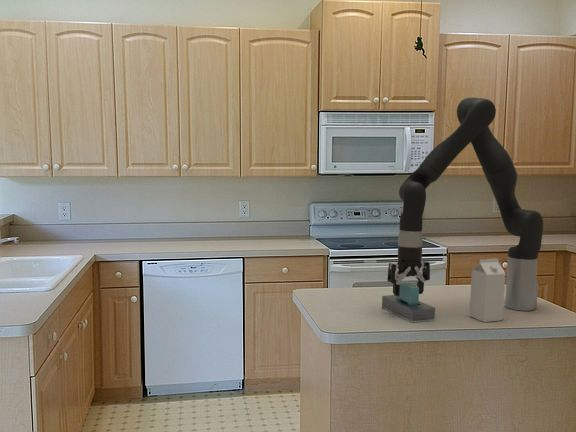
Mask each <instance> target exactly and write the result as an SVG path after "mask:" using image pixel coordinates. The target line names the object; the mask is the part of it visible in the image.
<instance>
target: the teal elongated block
mask: <svg viewBox="0 0 576 432" xmlns="http://www.w3.org/2000/svg"><path fill="white" fill-rule="evenodd" d="M399 285H400V295H399V296H397V300H398V301H405V302H407V305H409V306H413V305H418V303H419V301H420V300H419V299H420V298H419V297H420V294H419V287H417V285H414V284H412V283H409V282H407V281H401V282H400V283H399Z"/></svg>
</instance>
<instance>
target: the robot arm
mask: <svg viewBox="0 0 576 432" xmlns="http://www.w3.org/2000/svg"><path fill="white" fill-rule="evenodd" d="M496 114H497V109H496V106H495V104H494V102H493V101H491V100H490V99H488V98H484V97H483V98H482V97H467V98H464V99H462V100H461V101H460V102H459V103H458V105H457V109H456V117H457V121H458V123H459V126H458V127H456V128H457V129H455V130H454V132H452V133H451V134H450V135H449V136H448V137H446V138H445V139H444V140H443V141H441V142H440V143H439V144H438V145H436V146H435V147H434V148H433V149H432V150H431V151H430V152H429V153H428V154H427V156H426V157H425V159H424V160H423V161H422V162H421V163H420V164H419V166H418V167H417V168H416V169H415V170H414V171H413V172H412V173H411V174H409V176H408V177H407V178H406V179H405V180H404V181H403V182H402V184H401V185H400V187H399V189H398V190H399V191H398V194H399V198H400V200H401V201H403V204H402V212H401V214H400V216H399V232H398V237H397V241H398V242H397V263H392V262H390V263H388V267H387V268H388V269H387V278H386V279H387V280H386V281H387V282H389V283H391V284H392V293H393V294H392V295H395V296H399V295H400V285H399V283H400V282H402V281H403V280H404V279H405V277H406V278H409V277H415V278H416V280H417V281H416V286H417V287H419V295H422V294H423V292H424V291H425V282H427V281H430V279H431V264H430V262H429V261H426V260H423V261H421V260H422V258H423V215H424V211H425V206H426V201H427V190H426V189H427V188H428V187H429V186H430V185H431V184H433V183H434V182H436V181H437V180H438V179H439V178H440V177H441V175H443V173H444V172H445V171H446V169H447V168H448V167H449V166H450V164H452V162H453V161H454V160H455V159H456V158H457V157H458V156H459V154H460V153H462V152H463V150H464V149H466V148H467V146H468V145H470V144H471V145H472V147H473V150H474V153H475V155H476V158H477V160H478V161H479V164H480V166H481V169H482V171H483V174H484V176H485V178H486V181H487V183H488V184H489V187H490V189H491V191H492V194H493V196H494V198H495V201H496V203H497V207H498V210H499V213H500V216H501V220H502V222H503V226H504V227H505V229H506V231H507V233H509V234H510V235H512V236H514V237H519V241H518V244H517V245H515V246H511V247H509V248H508V252H507V266H506V267H507V269H506V270H507V271H506V280H505V297H504V306H505V307H506V308H508V309H509V310H515V311H521V312H522V311H523V312H524V311H525V312H530V311H534V310H536V309H537V308H538V306H537V305H538V294H539V293H538V292H539V280H537V273H538V272H537V271H538V260H539V259H538V257H539V253H540V251H541V248H542V242H543V241H542V240H543V232H544V219H543V216H542V214H541V213H540V212H539V211H536V210H532V209H531V210H529V209H523V208H522V207H521V206H520V205H519V202H518V200H517V197H516V192H515V191H516V186H517V180H518V173H517V169H516V167H515V164H514V161H513V160H512V158H511V156H510V154H509V153H508V151H507V150H506V149H505V148H504V146H503V145H502V144H501V143H500V141H498V139H497V138H496V137H495V136H494V134H493V133H492V131H491V128H490V125H491V124H492V123H493V121H494V119H495V118H496ZM421 269H422V271H420V270H421ZM396 271H397V272H396Z"/></svg>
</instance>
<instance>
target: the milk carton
mask: <svg viewBox="0 0 576 432" xmlns="http://www.w3.org/2000/svg"><path fill="white" fill-rule="evenodd" d="M470 278H471V279H470V297H469V298H470V299H469V317H471V318H473V319H476V320H477V321H478V320H479V321H481V322H483V323H488V322H489V323H490V322H498V321H503V317H504V305H505V289H506V272H505V270H504V269H503V267H502V265H501V263H500V262H499V258H484V259H483V258H482V259H481V258H480V259H479V263H478V264H476V266H474V267H473V268H472V269H471V277H470Z"/></svg>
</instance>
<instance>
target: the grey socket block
mask: <svg viewBox="0 0 576 432" xmlns="http://www.w3.org/2000/svg"><path fill="white" fill-rule="evenodd" d="M381 298H382V299H381V308H382V309H384V310H386V311H388V312H390V313H392V314H394V315H396V316H397V317H400V318H402V319H403V320H405V321H408V322H409V323H412V324H415V323H425V322H426V323H427V322H432V321H433V322H435V320H436V317H435V316H436V307H434V306H432V305H429V304H427V303H425V302H423V301H420V300H419V303H418V305H413V306H409V305H407V302H405V301H398V300H397V296H395V295H394V294H390V295H382V297H381Z"/></svg>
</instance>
